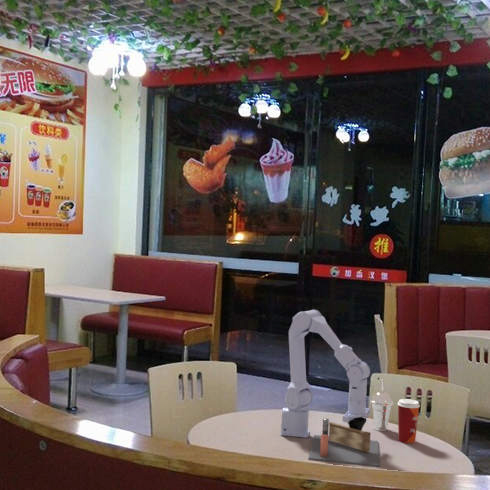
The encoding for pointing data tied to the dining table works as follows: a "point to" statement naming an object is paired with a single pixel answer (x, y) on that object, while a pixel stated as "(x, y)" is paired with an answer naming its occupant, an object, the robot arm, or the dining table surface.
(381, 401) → the cup with straw
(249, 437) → the dining table surface
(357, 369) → the robot arm
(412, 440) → the paper cup
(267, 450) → the dining table surface
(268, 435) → the dining table surface
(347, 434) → the gate
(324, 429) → the hinge post
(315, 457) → the mat
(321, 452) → the post
